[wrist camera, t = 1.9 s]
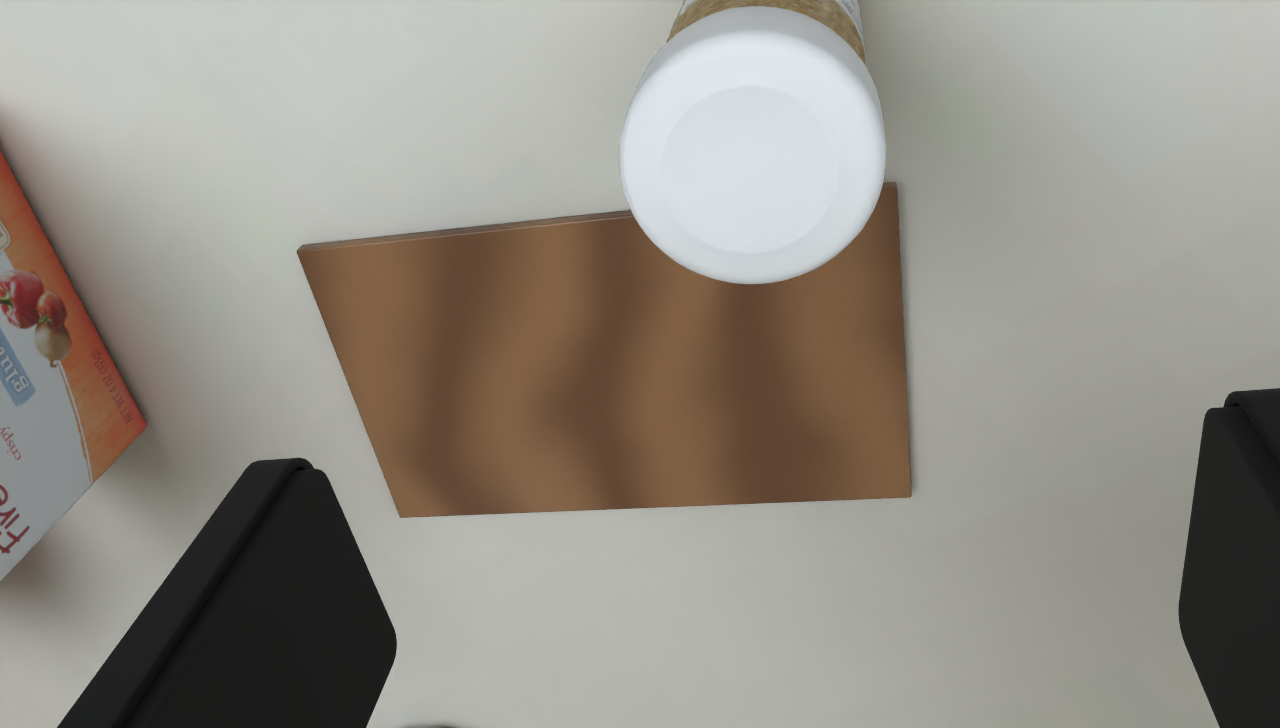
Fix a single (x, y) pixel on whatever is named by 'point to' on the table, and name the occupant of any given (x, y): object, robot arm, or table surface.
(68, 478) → the cracker box
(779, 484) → the wooden board
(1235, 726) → the robot arm
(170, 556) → the table surface
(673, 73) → the spice jar
